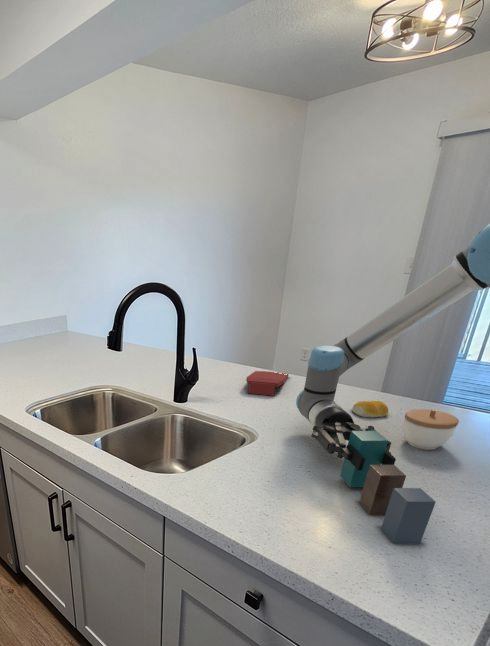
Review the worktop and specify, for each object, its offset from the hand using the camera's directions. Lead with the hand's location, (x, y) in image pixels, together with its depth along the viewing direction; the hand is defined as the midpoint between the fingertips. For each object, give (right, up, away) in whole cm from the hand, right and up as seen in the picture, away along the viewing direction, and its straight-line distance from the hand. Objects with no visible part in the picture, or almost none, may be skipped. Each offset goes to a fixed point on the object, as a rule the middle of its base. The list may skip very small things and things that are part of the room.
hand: (376, 464), depth 87 cm
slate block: (-1, -13, -7) cm, 15 cm away
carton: (+8, +29, +73) cm, 79 cm away
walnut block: (0, -9, 0) cm, 9 cm away
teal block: (+1, -4, +8) cm, 9 cm away
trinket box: (+28, +5, +24) cm, 37 cm away
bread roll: (+27, +15, +44) cm, 54 cm away
